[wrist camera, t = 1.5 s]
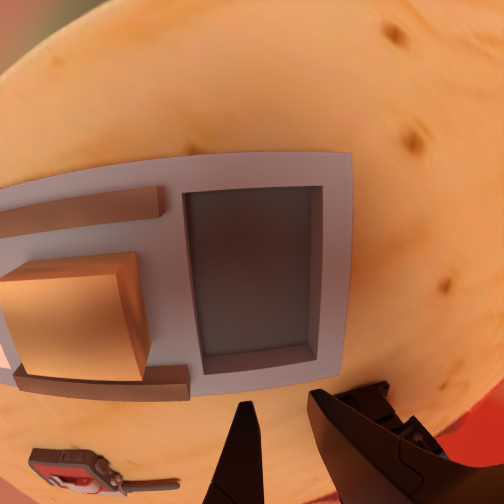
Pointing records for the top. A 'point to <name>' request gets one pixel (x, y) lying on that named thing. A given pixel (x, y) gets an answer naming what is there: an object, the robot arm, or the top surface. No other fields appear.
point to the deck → (219, 261)
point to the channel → (87, 214)
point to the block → (78, 317)
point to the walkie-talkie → (85, 473)
